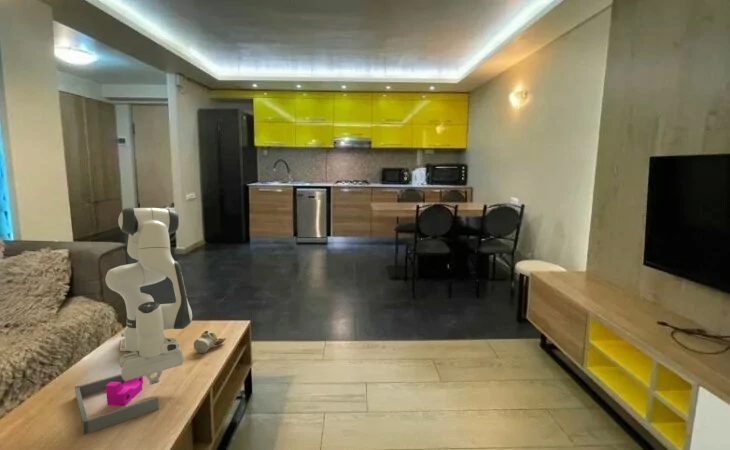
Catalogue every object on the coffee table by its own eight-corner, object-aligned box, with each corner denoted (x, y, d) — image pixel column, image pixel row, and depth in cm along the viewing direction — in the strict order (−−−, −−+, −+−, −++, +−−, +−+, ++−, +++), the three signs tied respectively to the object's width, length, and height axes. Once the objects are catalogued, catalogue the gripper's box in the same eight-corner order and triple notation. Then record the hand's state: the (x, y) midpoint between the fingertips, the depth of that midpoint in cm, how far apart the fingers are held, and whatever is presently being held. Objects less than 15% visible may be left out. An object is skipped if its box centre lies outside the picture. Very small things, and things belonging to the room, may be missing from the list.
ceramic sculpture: (186, 334, 179) (207, 324, 194) (186, 353, 180) (207, 341, 194) (207, 337, 177) (227, 326, 191) (207, 357, 177) (227, 344, 192)
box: (75, 397, 146) (74, 386, 146) (141, 377, 160) (141, 368, 159) (84, 434, 126) (83, 422, 126) (158, 409, 140) (158, 398, 139)
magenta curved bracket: (124, 406, 141) (123, 386, 140) (107, 405, 142) (105, 385, 141) (149, 383, 156) (148, 365, 155) (133, 382, 157) (132, 364, 155)
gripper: (120, 359, 138) (123, 396, 141) (183, 343, 151) (185, 377, 153) (117, 352, 143) (120, 389, 145) (178, 337, 156) (180, 371, 158)
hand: (154, 383), depth 149 cm, fingers closed
